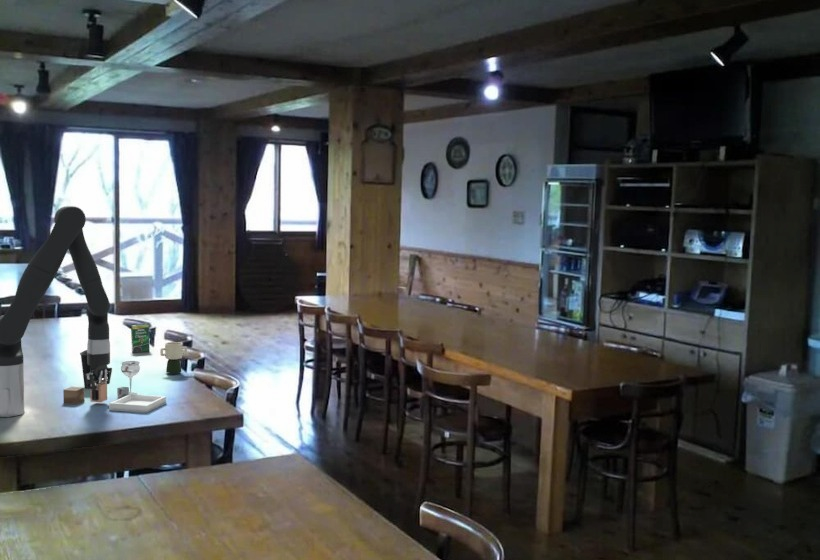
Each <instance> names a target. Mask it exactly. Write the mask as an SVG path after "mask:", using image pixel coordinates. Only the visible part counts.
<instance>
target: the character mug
mask: <svg viewBox="0 0 820 560" xmlns="http://www.w3.org/2000/svg"><path fill="white" fill-rule="evenodd" d="M183 350H184V351H183ZM159 351H160V356H161V357H165V359H167V361H166V369H165V370H166V371H165V372H166V373H167V374H170V373H171V374H170V375H172V374H173V375H175V374H176V375H177V374H180V373H181V372H182V365H181V360H180V359H182V358H183V356H184V355H187V354H188V347H187V346H183V342H179V341H170V342H166V343H164V347H161V348H160V350H159Z"/></svg>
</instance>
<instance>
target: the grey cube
mask: <svg viewBox="0 0 820 560" xmlns="http://www.w3.org/2000/svg"><path fill="white" fill-rule="evenodd" d="M129 392H130V386H119V387H117V392H116V393H117V396H116V398H117V399H116V400H118V399H120V398H122V397H125V396H127V395H129Z"/></svg>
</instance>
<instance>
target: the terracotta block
mask: <svg viewBox="0 0 820 560" xmlns="http://www.w3.org/2000/svg"><path fill="white" fill-rule="evenodd" d="M95 386H96V383H95ZM98 390H99V399H98V400H97V401H96V400H92V390H91V389H90V402H91V403H103V402H105V401H107V400H108V384H107V383H100V384H99V388H98Z"/></svg>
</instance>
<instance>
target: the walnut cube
mask: <svg viewBox="0 0 820 560" xmlns="http://www.w3.org/2000/svg"><path fill="white" fill-rule="evenodd" d="M62 393H63V404H69V405H78V404H81V403H83V402H85V387H84V386H70V387H67V388H65V389H63V391H62Z"/></svg>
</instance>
